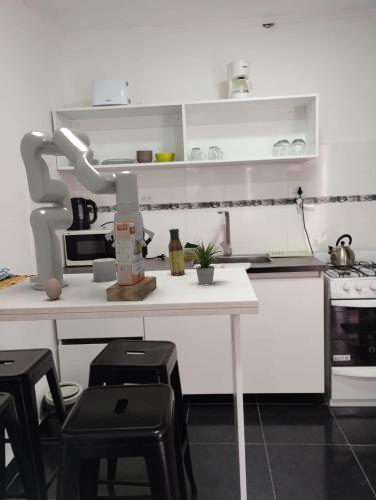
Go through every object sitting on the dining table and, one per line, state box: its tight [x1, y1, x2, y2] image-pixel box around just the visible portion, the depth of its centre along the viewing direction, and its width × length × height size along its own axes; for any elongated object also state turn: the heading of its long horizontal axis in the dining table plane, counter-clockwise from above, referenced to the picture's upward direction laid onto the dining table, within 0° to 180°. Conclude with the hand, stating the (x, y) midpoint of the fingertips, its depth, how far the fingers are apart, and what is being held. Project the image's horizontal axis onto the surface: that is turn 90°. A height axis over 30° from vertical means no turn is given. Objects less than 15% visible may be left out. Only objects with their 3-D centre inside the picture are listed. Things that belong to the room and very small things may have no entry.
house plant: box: [189, 241, 225, 286], centre depth 154 cm, size 14×14×16 cm
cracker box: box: [113, 223, 146, 285], centre depth 143 cm, size 14×6×21 cm, turn 169°
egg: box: [45, 278, 63, 301], centre depth 141 cm, size 5×5×7 cm
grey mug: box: [91, 257, 117, 283], centre depth 174 cm, size 9×13×9 cm
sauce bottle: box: [167, 228, 186, 276], centre depth 177 cm, size 6×6×20 cm
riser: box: [105, 275, 158, 302], centre depth 144 cm, size 12×20×4 cm, turn 171°
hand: (131, 257), depth 143 cm, fingers open, 9 cm apart
